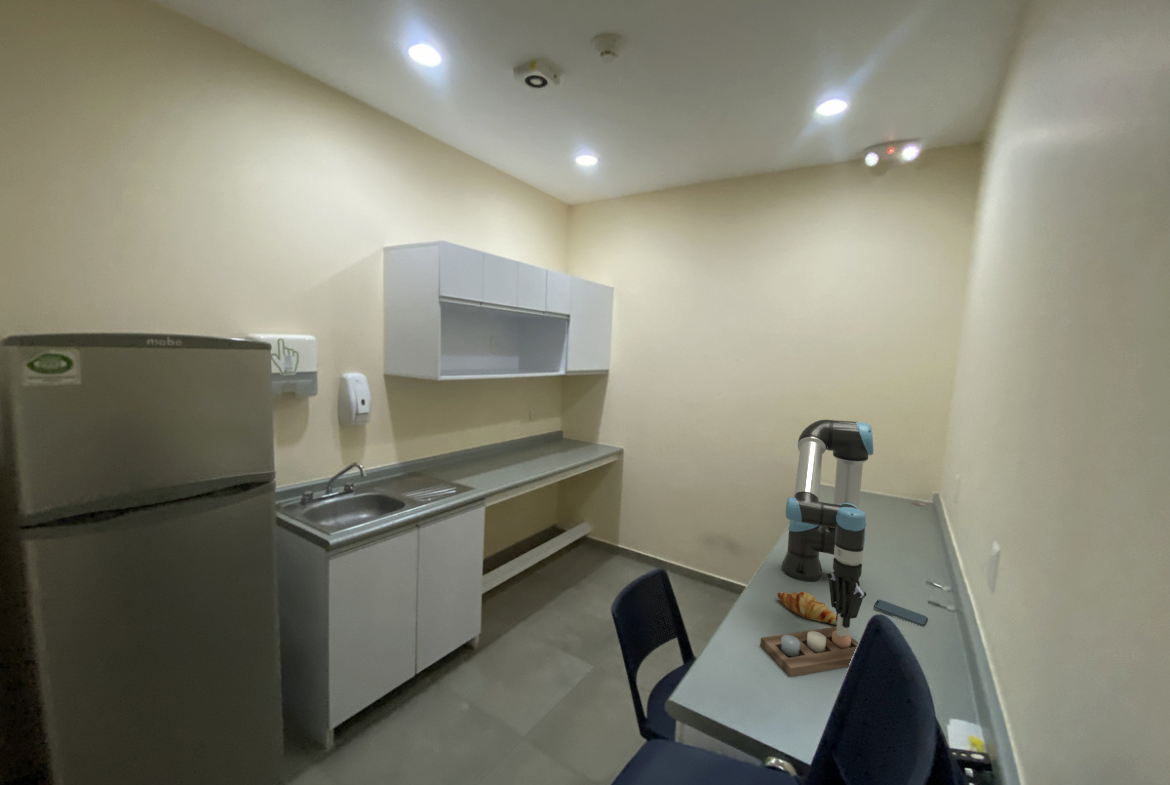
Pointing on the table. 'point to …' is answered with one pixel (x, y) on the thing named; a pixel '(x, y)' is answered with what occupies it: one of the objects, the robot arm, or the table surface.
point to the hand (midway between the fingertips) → (841, 634)
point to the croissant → (807, 607)
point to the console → (809, 653)
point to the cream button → (816, 641)
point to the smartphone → (900, 612)
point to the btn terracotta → (841, 641)
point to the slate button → (790, 645)
